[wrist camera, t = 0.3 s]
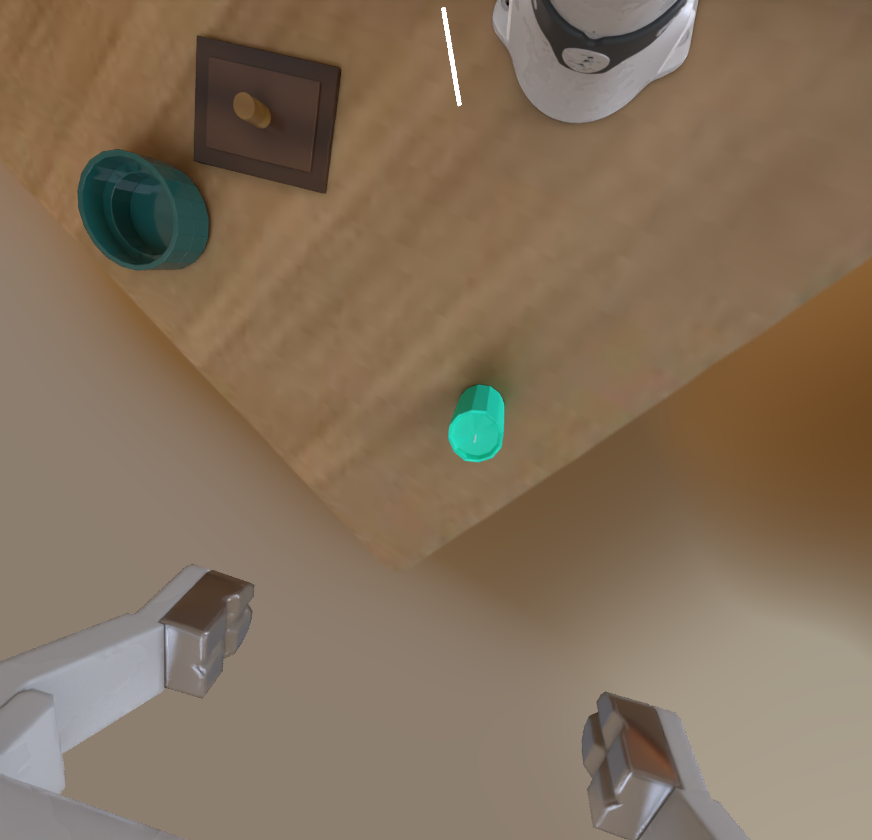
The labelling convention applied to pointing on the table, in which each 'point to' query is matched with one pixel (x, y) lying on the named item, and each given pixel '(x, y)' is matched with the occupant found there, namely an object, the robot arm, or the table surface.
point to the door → (264, 113)
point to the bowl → (142, 211)
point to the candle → (477, 424)
